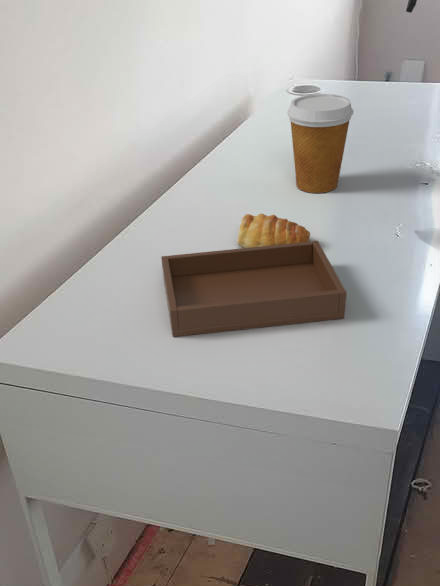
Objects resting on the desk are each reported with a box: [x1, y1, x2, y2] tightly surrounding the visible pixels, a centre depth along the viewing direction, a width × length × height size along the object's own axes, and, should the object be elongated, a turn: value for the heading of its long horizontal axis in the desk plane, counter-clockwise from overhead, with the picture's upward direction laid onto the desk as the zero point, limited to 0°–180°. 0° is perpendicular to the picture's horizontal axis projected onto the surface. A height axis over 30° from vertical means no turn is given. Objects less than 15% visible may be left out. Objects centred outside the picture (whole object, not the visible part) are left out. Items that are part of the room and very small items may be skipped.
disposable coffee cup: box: [287, 93, 354, 194], centre depth 107 cm, size 10×10×12 cm
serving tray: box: [160, 240, 347, 338], centre depth 85 cm, size 20×14×3 cm
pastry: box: [236, 213, 311, 249], centre depth 95 cm, size 9×7×4 cm
